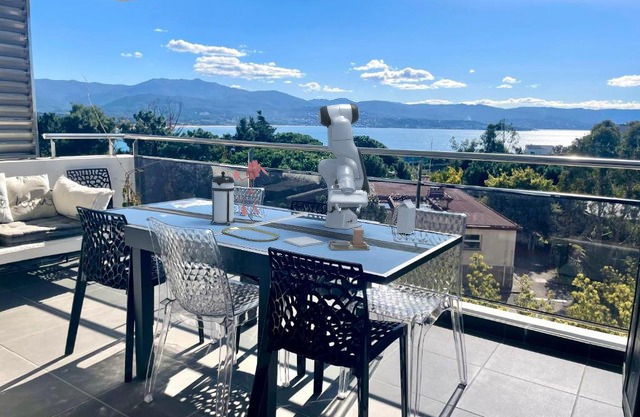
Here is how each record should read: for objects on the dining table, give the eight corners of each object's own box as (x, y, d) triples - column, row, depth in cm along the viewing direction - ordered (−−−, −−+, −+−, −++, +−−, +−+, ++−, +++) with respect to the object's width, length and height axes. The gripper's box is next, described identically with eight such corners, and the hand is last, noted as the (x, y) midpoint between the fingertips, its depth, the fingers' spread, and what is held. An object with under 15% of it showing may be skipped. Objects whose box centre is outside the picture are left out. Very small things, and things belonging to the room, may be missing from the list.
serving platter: (258, 244, 237) (258, 241, 237) (215, 232, 260) (215, 229, 260) (286, 239, 251) (286, 236, 250) (243, 228, 274) (243, 225, 274)
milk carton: (414, 233, 274) (416, 200, 271) (407, 235, 269) (409, 201, 266) (403, 231, 279) (405, 198, 276) (396, 233, 273) (398, 199, 270)
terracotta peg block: (352, 246, 237) (353, 228, 236) (360, 246, 238) (361, 228, 236) (354, 248, 233) (355, 230, 232) (362, 248, 234) (363, 230, 233)
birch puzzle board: (328, 245, 238) (328, 238, 237) (364, 245, 241) (364, 238, 240) (331, 250, 229) (331, 243, 228) (369, 250, 232) (369, 242, 231)
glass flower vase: (229, 215, 308) (230, 159, 302) (259, 211, 327) (261, 159, 321) (245, 219, 298) (247, 162, 292) (276, 215, 318) (278, 161, 312)
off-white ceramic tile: (305, 238, 252) (305, 236, 252) (323, 243, 241) (323, 241, 241) (283, 241, 243) (283, 239, 243) (300, 247, 232) (300, 245, 232)
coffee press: (242, 224, 281) (242, 172, 277) (215, 226, 272) (215, 172, 268) (229, 219, 295) (229, 169, 291) (203, 221, 286) (204, 170, 282)
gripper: (365, 194, 255) (368, 216, 247) (326, 193, 253) (327, 215, 245) (367, 187, 250) (370, 209, 242) (327, 185, 248) (329, 208, 240)
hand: (348, 212), depth 244 cm, fingers open, 8 cm apart
